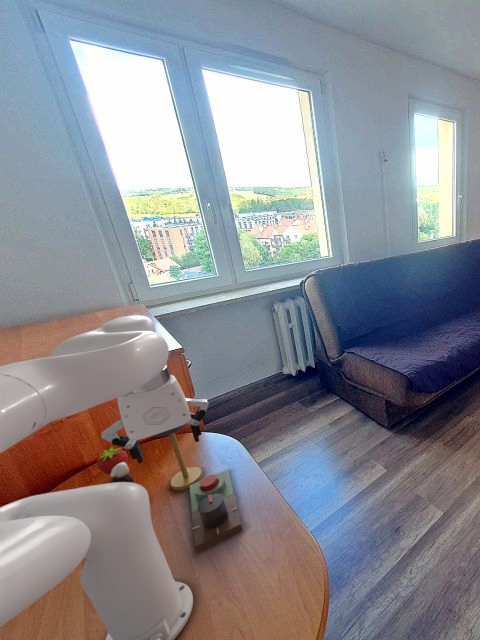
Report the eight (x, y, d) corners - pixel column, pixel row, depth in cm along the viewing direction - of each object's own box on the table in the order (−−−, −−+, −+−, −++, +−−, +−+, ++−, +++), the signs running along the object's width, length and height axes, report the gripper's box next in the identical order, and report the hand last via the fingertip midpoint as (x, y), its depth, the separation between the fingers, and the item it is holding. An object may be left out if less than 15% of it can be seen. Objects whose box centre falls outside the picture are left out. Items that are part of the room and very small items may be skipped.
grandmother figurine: (155, 498, 85) (140, 459, 80) (142, 511, 81) (125, 472, 77) (128, 495, 86) (111, 457, 81) (113, 508, 82) (95, 469, 78)
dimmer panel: (243, 529, 77) (241, 523, 76) (196, 553, 72) (193, 547, 71) (235, 499, 85) (234, 493, 84) (192, 519, 79) (190, 513, 79)
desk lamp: (205, 482, 90) (182, 408, 81) (169, 497, 85) (140, 420, 77) (203, 464, 96) (181, 393, 87) (168, 477, 91) (142, 404, 83)
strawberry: (126, 463, 96) (114, 435, 92) (138, 473, 92) (126, 444, 89) (99, 477, 91) (86, 448, 87) (111, 488, 88) (98, 459, 84)
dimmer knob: (229, 520, 77) (224, 503, 75) (204, 532, 74) (198, 515, 72) (226, 505, 81) (221, 489, 79) (202, 516, 78) (196, 499, 76)
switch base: (234, 497, 85) (232, 488, 84) (193, 516, 80) (190, 507, 79) (228, 472, 93) (226, 464, 92) (190, 488, 88) (187, 480, 87)
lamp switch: (218, 486, 85) (217, 481, 85) (202, 493, 83) (200, 488, 83) (217, 477, 88) (215, 472, 87) (201, 484, 86) (199, 479, 85)
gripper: (80, 404, 56) (114, 480, 63) (200, 372, 66) (219, 440, 73) (86, 385, 62) (117, 456, 68) (196, 358, 72) (214, 422, 78)
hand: (169, 448), depth 70 cm, fingers open, 9 cm apart
